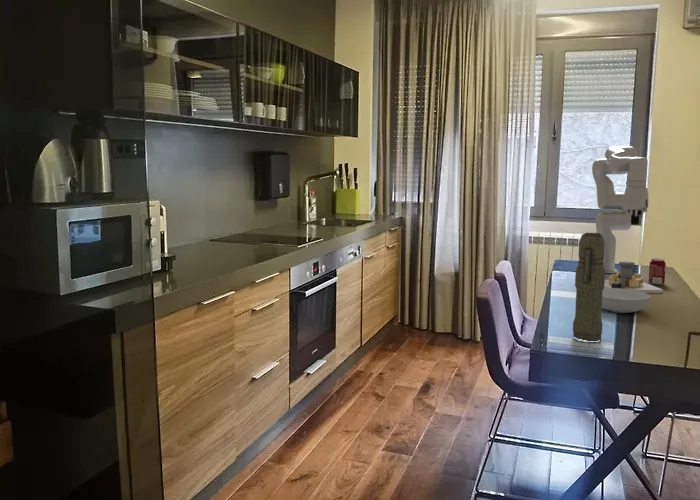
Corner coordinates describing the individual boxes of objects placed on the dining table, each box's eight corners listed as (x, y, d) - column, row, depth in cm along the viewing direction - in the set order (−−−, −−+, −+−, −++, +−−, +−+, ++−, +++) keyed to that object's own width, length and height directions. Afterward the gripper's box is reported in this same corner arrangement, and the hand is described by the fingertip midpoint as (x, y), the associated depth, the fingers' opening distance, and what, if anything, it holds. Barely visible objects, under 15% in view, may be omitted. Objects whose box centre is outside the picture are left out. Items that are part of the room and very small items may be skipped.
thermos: (603, 336, 197) (608, 232, 192) (599, 345, 187) (605, 236, 182) (574, 332, 201) (579, 231, 196) (570, 342, 191) (575, 234, 186)
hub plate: (591, 282, 285) (592, 258, 283) (636, 282, 285) (637, 258, 283) (613, 293, 261) (614, 267, 259) (662, 293, 261) (664, 267, 259)
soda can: (662, 286, 275) (664, 261, 274) (647, 284, 279) (648, 259, 278) (665, 283, 281) (667, 259, 279) (649, 282, 285) (651, 257, 283)
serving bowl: (615, 319, 219) (616, 301, 218) (579, 306, 239) (580, 289, 238) (661, 314, 224) (662, 297, 223) (622, 302, 244) (623, 286, 243)
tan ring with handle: (614, 279, 282) (615, 270, 282) (645, 283, 274) (645, 273, 273) (598, 288, 264) (598, 278, 263) (630, 292, 255) (631, 281, 255)
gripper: (617, 184, 274) (615, 223, 276) (647, 185, 261) (645, 226, 264) (627, 184, 278) (624, 222, 280) (657, 184, 265) (654, 225, 267)
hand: (634, 224), depth 272 cm, fingers closed
